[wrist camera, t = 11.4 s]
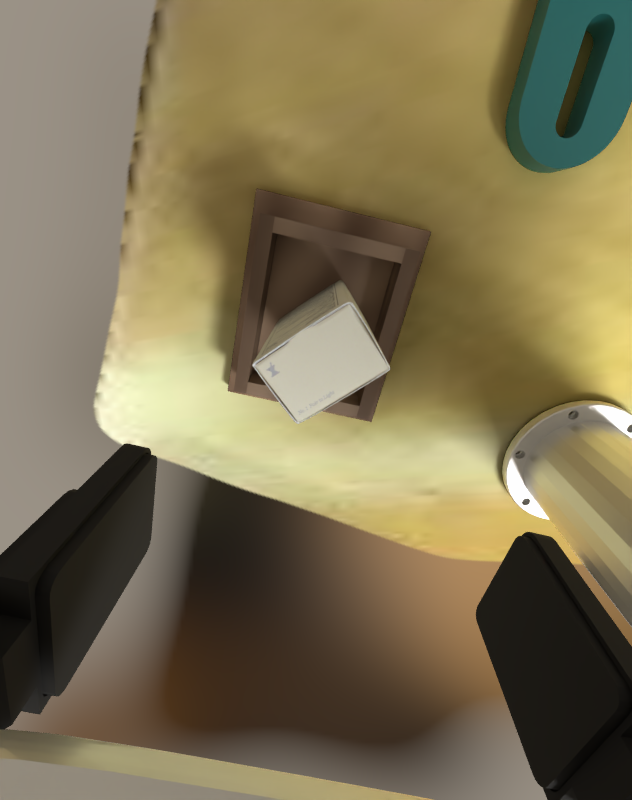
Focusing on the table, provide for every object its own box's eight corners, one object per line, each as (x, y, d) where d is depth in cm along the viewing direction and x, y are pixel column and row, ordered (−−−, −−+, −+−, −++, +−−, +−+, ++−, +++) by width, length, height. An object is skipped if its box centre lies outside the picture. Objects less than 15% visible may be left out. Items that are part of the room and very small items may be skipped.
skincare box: (306, 362, 33) (294, 430, 22) (275, 318, 31) (246, 365, 20) (371, 322, 31) (394, 373, 20) (342, 274, 30) (350, 299, 19)
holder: (428, 231, 29) (442, 231, 26) (370, 416, 36) (375, 438, 32) (258, 189, 29) (248, 183, 25) (230, 386, 35) (218, 405, 31)
